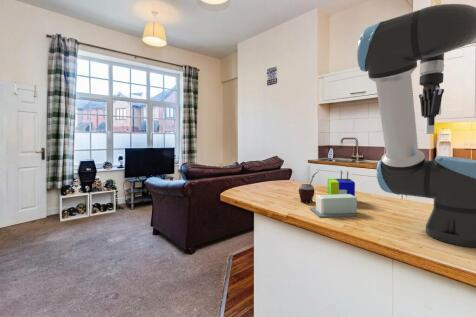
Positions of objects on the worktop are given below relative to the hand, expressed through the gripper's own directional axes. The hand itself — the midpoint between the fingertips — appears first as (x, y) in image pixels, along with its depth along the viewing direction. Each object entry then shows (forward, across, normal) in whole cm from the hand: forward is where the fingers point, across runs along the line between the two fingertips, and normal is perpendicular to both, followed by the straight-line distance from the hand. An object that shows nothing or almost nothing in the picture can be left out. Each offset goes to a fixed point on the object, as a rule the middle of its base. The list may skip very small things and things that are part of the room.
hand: (429, 133), depth 102 cm
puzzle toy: (+31, +8, +32) cm, 45 cm away
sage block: (+27, -9, +31) cm, 42 cm away
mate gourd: (+31, +6, +47) cm, 56 cm away
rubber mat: (+30, -10, +39) cm, 51 cm away
